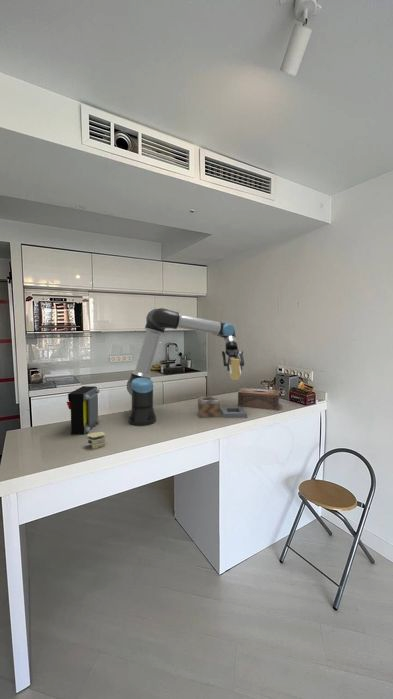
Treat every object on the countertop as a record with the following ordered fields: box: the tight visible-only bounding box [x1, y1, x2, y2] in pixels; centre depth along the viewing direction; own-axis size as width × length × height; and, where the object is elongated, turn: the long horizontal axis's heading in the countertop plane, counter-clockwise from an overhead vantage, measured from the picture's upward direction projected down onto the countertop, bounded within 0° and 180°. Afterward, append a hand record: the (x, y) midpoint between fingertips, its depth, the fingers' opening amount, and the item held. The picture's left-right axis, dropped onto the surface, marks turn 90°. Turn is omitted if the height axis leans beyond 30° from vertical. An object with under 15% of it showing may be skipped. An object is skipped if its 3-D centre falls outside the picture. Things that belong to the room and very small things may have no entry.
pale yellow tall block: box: [229, 358, 241, 381], centre depth 174 cm, size 5×5×12 cm
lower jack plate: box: [220, 406, 248, 419], centre depth 176 cm, size 14×14×2 cm
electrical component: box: [66, 385, 101, 436], centre depth 148 cm, size 18×10×20 cm, turn 179°
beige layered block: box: [86, 431, 107, 450], centre depth 127 cm, size 10×9×6 cm
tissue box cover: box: [237, 387, 280, 411], centre depth 196 cm, size 26×14×10 cm, turn 72°
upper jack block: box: [197, 396, 221, 419], centre depth 175 cm, size 12×12×10 cm
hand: (235, 374), depth 170 cm, fingers closed on pale yellow tall block, 5 cm apart
